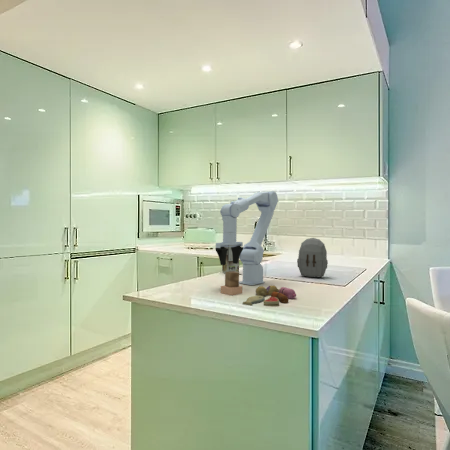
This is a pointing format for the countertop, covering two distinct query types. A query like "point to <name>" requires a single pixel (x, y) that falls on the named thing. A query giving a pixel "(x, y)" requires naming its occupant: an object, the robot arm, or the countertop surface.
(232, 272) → the walnut block
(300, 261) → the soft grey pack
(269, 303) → the toy food set
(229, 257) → the coffee box
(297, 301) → the countertop surface
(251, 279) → the robot arm
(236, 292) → the base block
